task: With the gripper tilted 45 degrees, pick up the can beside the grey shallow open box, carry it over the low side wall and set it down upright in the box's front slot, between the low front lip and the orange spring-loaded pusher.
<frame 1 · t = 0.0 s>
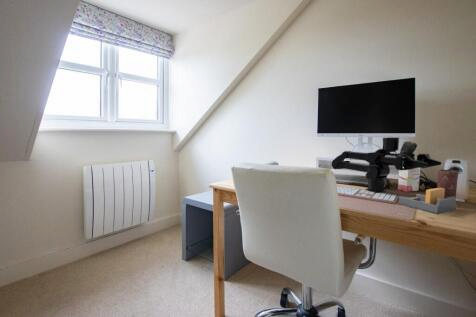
hand: (434, 164, 102), 17 cm above the table, tool horizontal, fingers open, 9 cm apart
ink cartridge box: (408, 190, 128), on the table
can: (445, 204, 104), on the table
pusher: (436, 198, 97), point 4 cm above the table, slide at 0.0 cm
grey shallow open box: (426, 207, 100), on the table
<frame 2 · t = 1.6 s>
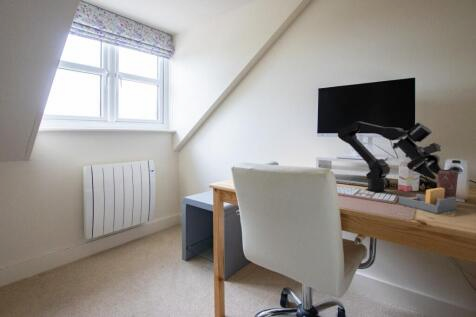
hand: (439, 177, 105), 11 cm above the table, tool tilted 45°, fingers open, 9 cm apart
nothing on the table moved.
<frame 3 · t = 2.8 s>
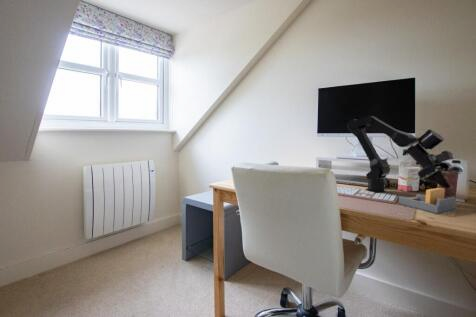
hand: (451, 186, 102), 8 cm above the table, tool tilted 45°, fingers closed on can, 5 cm apart
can: (445, 204, 104), on the table, touching gripper
everything else where it was.
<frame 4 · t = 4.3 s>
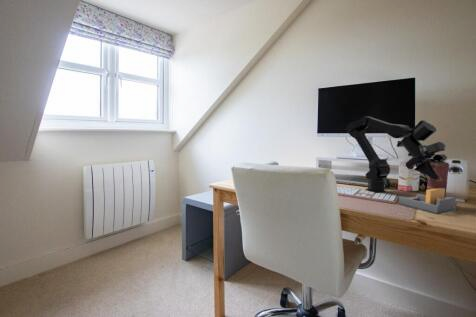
hand: (441, 178, 100), 11 cm above the table, tool tilted 45°, fingers closed on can, 5 cm apart
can: (436, 196, 103), point 3 cm above the table, touching gripper
everything else where it was.
when the fingers open (9 cm above the table, at t = 5.8 s): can stays where it is, resting on grey shallow open box.
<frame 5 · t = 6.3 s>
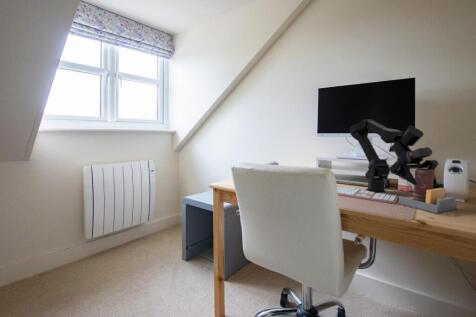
hand: (425, 183, 100), 9 cm above the table, tool tilted 45°, fingers open, 9 cm apart
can: (422, 204, 103), resting on grey shallow open box
everything else where it was.
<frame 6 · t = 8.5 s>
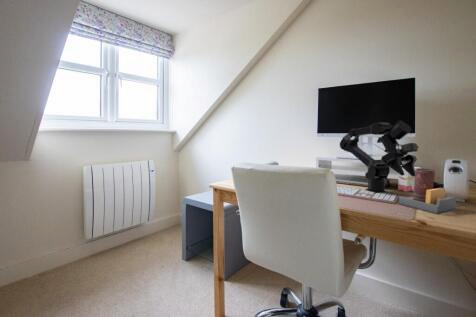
hand: (408, 175, 110), 11 cm above the table, tool tilted 35°, fingers open, 9 cm apart
nothing on the table moved.
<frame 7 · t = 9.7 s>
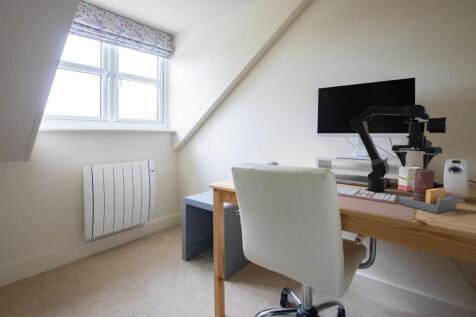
hand: (414, 168, 115), 13 cm above the table, tool pointing down, fingers open, 9 cm apart
nothing on the table moved.
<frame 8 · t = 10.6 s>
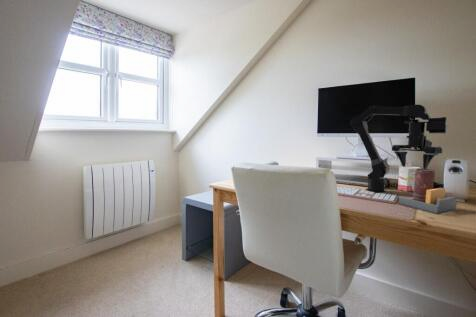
hand: (414, 168, 115), 13 cm above the table, tool pointing down, fingers open, 9 cm apart
nothing on the table moved.
at the end: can 1.4 cm from the target spot on the grey shallow open box, point 0.4 cm above the grey shallow open box's base; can tilted 0°; the gripper is holding nothing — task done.
